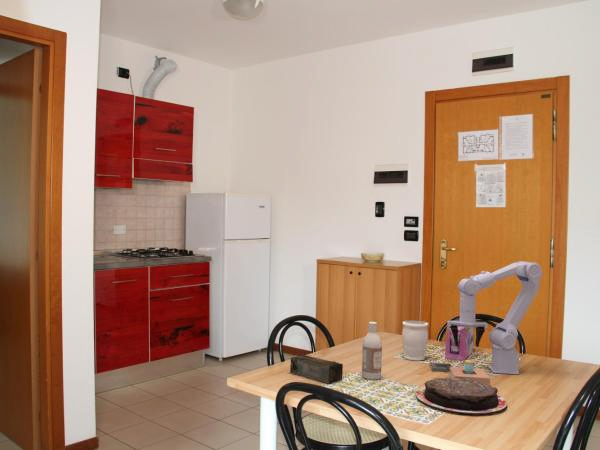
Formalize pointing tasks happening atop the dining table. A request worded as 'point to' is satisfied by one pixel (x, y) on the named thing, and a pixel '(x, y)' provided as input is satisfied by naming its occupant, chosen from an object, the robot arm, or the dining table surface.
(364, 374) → the bath foam
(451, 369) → the socket
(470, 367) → the pin
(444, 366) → the mount
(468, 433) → the dining table surface
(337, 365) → the dark grey long block
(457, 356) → the gum box
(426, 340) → the jar
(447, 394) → the chocolate cake
